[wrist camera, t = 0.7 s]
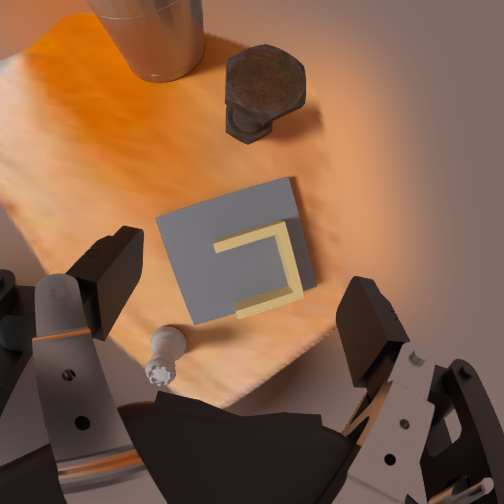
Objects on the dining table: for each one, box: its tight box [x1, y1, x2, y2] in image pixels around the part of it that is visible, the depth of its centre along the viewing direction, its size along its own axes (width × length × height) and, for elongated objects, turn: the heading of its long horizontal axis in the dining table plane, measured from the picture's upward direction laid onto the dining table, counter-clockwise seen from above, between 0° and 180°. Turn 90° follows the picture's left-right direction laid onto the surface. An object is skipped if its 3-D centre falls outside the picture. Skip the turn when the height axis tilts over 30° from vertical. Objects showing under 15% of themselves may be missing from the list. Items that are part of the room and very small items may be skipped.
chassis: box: [156, 177, 317, 325], centre depth 31 cm, size 13×15×4 cm
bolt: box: [225, 44, 306, 145], centre depth 23 cm, size 6×5×15 cm
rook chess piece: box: [145, 326, 186, 386], centre depth 30 cm, size 4×4×8 cm
